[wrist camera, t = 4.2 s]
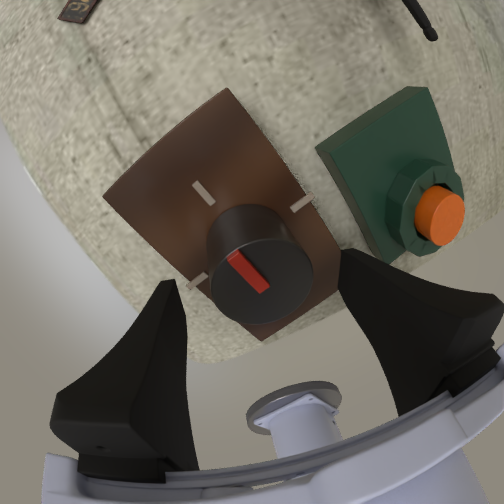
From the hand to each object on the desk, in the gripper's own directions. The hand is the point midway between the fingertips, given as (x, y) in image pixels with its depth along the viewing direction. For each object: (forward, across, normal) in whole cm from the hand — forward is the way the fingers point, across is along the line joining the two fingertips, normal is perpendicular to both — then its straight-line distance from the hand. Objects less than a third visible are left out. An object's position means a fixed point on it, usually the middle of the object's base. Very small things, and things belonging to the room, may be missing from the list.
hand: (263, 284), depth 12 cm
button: (+3, -13, -1) cm, 13 cm away
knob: (+4, 0, 0) cm, 4 cm away
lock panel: (+7, 0, 0) cm, 7 cm away
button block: (+7, -12, -2) cm, 14 cm away
